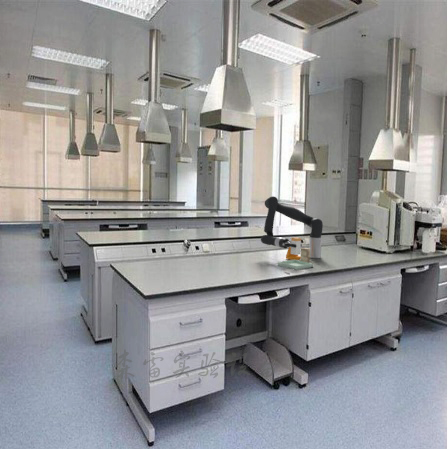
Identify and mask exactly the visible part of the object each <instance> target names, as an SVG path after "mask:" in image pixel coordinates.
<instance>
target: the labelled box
mask: <svg viewBox="0 0 448 449" xmlns="http://www.w3.org/2000/svg"><path fill="white" fill-rule="evenodd" d="M290 239H291V244H296V248H295V247H291V254H294V255H298V256H300V255H301V248H302V247H301V244H302V238H301V237H296V236H295V237H291V238H290Z"/></svg>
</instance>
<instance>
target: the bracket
mask: <svg viewBox="0 0 448 449" xmlns="http://www.w3.org/2000/svg"><path fill="white" fill-rule="evenodd" d="M300 258H301V255H294V254H291V247H288V248H287V252H286V254H285V259H286V260H287V259H288V260H299V261H300Z"/></svg>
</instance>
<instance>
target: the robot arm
mask: <svg viewBox="0 0 448 449" xmlns="http://www.w3.org/2000/svg"><path fill="white" fill-rule="evenodd" d="M264 206H265V208H267V215H266V217H265V222H264V226H263V227H264V228H263V232H264V233H265V234H264V235H262V236H261V237H260V241H261V243H262V244H264V245H267V246H274V247H278V248H280V249H281V248H282V249H289V247H295V248H296V244H291V241H290V240H289V238H286V237H285V238H284V237H278V236H274V224H275V222H274V221H275V217H276V212H277V213H280V214H281V215H283V216H285V217H287V218H290V219H291V220H294V221H296V222H300V223H302V224H304V225H306V226H308V227H309V228H310V229H311V232H310V234H309V244H308V245H309V246H308V248H309V249H310V259H320V258H322V243H321V242H322V234H323V228H324V227H323V221H322V220H321V218H316V217H313V216H310V215H308V214H306V213H304V212H303V211H302V210H300V209H298V208H296V207H294V206H289V205H284V204H282V203H280V202H279V199H278V198H277V197H276V196H274V195H272V196H269V197H268V198H266V200H265V201H264ZM301 248H303V247H302V243H301Z"/></svg>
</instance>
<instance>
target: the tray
mask: <svg viewBox="0 0 448 449" xmlns="http://www.w3.org/2000/svg"><path fill="white" fill-rule="evenodd" d="M277 266H278V267H283V268H284V269H285V268H286V269H289V270H290V269H291V270H293V269H294V271H298V270H299V269H300V270H306V269H311V267H312V268H314V263H312V262H310V263H308V262H303V261H300V259H299V260H290V259H288V260H283V261H278V262H277ZM305 268H306V269H305Z"/></svg>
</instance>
